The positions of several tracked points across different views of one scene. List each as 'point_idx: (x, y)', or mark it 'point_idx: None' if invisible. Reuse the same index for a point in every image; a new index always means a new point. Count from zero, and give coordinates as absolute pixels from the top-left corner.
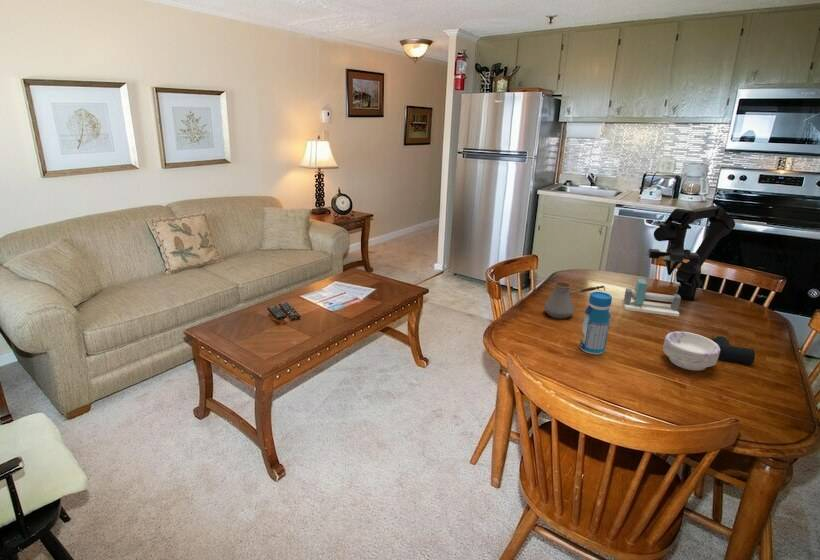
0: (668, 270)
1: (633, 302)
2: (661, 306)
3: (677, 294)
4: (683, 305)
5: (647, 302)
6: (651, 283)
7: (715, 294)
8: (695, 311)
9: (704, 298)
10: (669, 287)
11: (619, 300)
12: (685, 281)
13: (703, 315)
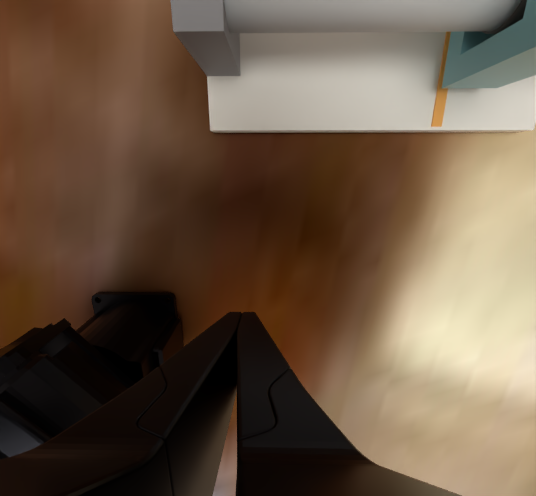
0: (263, 339)
1: None
2: (301, 58)
3: (188, 26)
4: (158, 196)
5: (381, 108)
6: None
7: None
8: (97, 111)
9: None
10: None
11: (533, 138)
12: (97, 362)
13: (54, 49)
